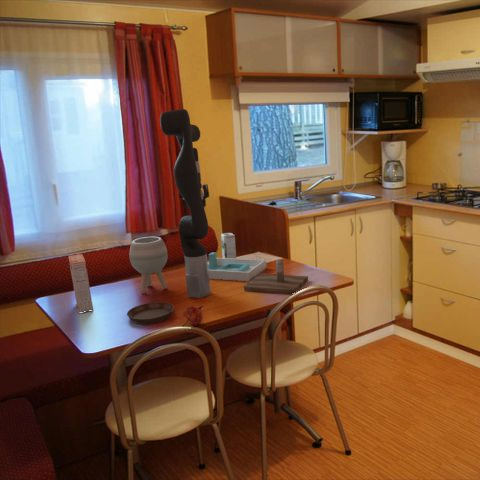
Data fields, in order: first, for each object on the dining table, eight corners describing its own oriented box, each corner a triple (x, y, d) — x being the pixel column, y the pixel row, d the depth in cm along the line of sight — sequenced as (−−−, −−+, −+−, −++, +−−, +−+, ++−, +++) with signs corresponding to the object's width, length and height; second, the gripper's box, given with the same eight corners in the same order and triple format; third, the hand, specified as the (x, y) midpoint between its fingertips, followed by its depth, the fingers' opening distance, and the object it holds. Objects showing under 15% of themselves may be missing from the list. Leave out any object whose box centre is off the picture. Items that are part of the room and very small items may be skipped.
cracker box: (75, 303, 227) (67, 255, 222) (90, 301, 229) (83, 253, 224) (78, 314, 214) (70, 263, 209) (93, 311, 216) (86, 260, 211)
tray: (249, 281, 238) (248, 272, 237) (197, 277, 249) (196, 269, 248) (266, 268, 256) (265, 260, 255) (217, 265, 267) (216, 257, 266)
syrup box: (222, 262, 272) (220, 233, 269) (233, 260, 274) (231, 232, 270) (225, 264, 267) (223, 236, 264) (237, 262, 269) (234, 234, 265)
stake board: (294, 294, 217) (292, 268, 215) (244, 290, 227) (242, 265, 224) (308, 280, 233) (306, 256, 230) (260, 277, 242) (259, 253, 240)
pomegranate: (189, 336, 191) (210, 316, 191) (174, 321, 189) (195, 301, 190) (189, 330, 198) (208, 311, 198) (175, 316, 197) (195, 297, 197)
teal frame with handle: (239, 275, 244) (237, 258, 243) (206, 273, 252) (204, 256, 250) (249, 267, 255) (248, 251, 253) (217, 266, 262) (216, 250, 260)
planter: (134, 297, 229) (127, 246, 223) (133, 286, 244) (127, 238, 239) (172, 292, 231) (166, 241, 226) (169, 281, 247) (164, 233, 242)
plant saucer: (118, 319, 206) (117, 312, 205) (156, 305, 218) (155, 298, 217) (146, 330, 194) (145, 322, 193) (184, 314, 206) (183, 307, 205)
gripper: (173, 173, 241) (177, 209, 245) (201, 172, 235) (205, 209, 239) (182, 170, 248) (185, 205, 252) (209, 170, 242) (212, 206, 246)
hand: (195, 207), depth 245 cm, fingers open, 8 cm apart
